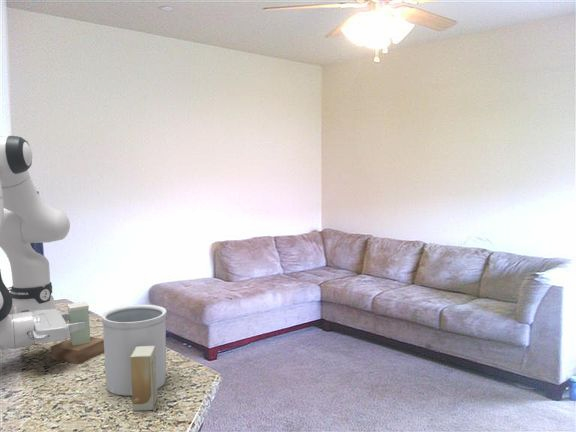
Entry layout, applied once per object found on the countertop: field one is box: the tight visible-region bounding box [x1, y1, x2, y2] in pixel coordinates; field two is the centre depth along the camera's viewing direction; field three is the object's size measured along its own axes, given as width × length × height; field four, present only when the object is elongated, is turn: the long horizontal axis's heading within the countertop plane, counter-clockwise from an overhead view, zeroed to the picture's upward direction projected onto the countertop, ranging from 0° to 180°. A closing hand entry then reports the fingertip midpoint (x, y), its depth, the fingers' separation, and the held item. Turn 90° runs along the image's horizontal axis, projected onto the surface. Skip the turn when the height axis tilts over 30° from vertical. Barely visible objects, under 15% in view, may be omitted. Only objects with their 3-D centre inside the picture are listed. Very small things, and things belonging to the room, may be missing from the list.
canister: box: [66, 300, 91, 346], centre depth 140 cm, size 5×5×11 cm
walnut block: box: [50, 336, 104, 365], centre depth 140 cm, size 10×10×4 cm
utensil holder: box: [101, 304, 168, 396], centre depth 120 cm, size 15×15×18 cm
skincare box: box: [130, 346, 158, 412], centre depth 110 cm, size 6×4×12 cm
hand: (81, 320), depth 140 cm, fingers open, 8 cm apart
